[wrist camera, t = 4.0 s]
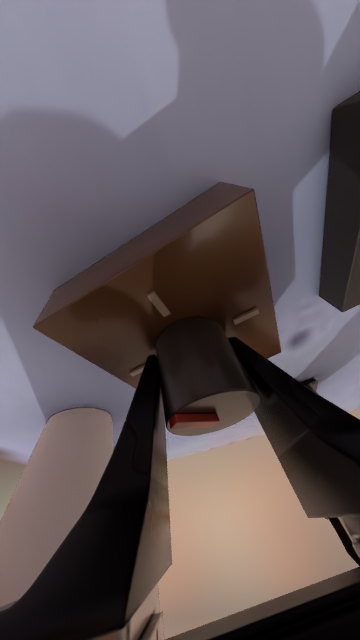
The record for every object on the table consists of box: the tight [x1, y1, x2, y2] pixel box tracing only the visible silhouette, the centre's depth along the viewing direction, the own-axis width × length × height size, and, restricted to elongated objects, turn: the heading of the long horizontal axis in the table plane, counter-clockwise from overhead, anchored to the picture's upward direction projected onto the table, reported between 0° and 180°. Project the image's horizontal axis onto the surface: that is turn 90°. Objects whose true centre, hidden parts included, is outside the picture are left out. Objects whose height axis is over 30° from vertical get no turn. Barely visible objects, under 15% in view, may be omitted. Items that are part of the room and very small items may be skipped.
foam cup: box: [0, 408, 114, 607], centre depth 15 cm, size 10×9×13 cm
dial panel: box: [33, 182, 281, 388], centre depth 11 cm, size 11×10×3 cm
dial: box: [155, 317, 261, 436], centre depth 9 cm, size 4×4×4 cm
